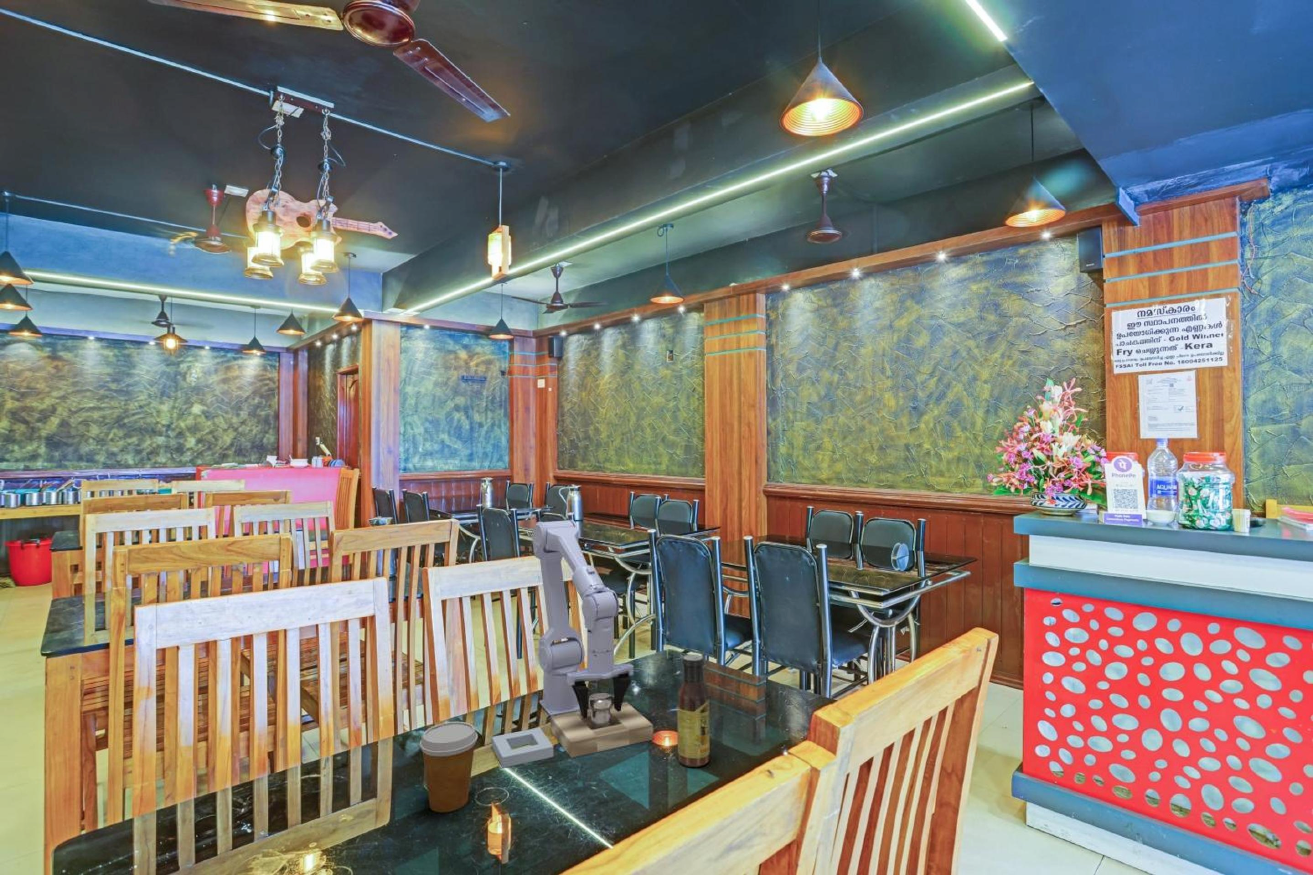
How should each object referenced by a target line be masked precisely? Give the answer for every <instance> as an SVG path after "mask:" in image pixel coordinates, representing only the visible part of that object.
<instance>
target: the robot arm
mask: <svg viewBox="0 0 1313 875" xmlns="http://www.w3.org/2000/svg"><path fill="white" fill-rule="evenodd" d="M579 538H580V531H579V528H578V525H577V523H576V522H575V521H574V520H573V519H568V520H556V521H553V520H552V521H537V522H536V523H535V525H534V526H533V529H532V534H531V539H532V547H533V553H534V558H536V559H538V560H539V562H540V563H539V565H540V571H541V579H542V588H543V594H544V601H545V604H544V605H545V611H546V618H547V619H546V620H547V626H548V629H547V630H546V631H545V633H543V634H542V636H541V637H540V638H539V639H538V654H537V658H538V664H539V667H540V668H541V670H543V676H542V677H543V678H542V679H543V680H542V685H543V689H542V690H543V691H542V692H543V697H542V698H543V699H540V700H539V704H540V705H541V706H542V708H543V709H544V710H545V711H546V713H547V715H549V716H550V717H552V716H557V715H562V714H567V713H573V712H578V711H580V712H581V716H582V717H583V718H587V710H588V699H589V690H590V688H589V687H588V686H587V684H586V683H587V682H591V681H598V680H605V679H606V680H607V679H610V678H612V683H613V684H612V685H613V705H614V709H615V710H617V711H618V712H619V711H621V707H622V703H624V698H625V695H626V693H627V690H628V688H629V686H630V684H631V683H632V678H631V677H630V676H633V675H634V665H633V664H632V663H620V664H619V663H617V664H615V618H616V617H617V616H618V614H619V612H620V603H619V598H618V595H617V593H616V592H615V591H614V590H612V589H610V588H609V587H606V586H605V584H604V582H603V580H602V579H601V576H600V575H599V573H598V572H597V569H596V568H595V567H594V566H593V565H588V562H587V561H586V558H585V556H584V554H583V551H582V548H581V546H580V544H579ZM562 559H564V561H565V562H566V563H567V565H568V566H569V567H570V570H571V571H572V572H573V574H572V577H571V580H572V581H571V582H572V583H573V585H574V587H575V589H576V591H577V593H578V595H579V597H580V599H581V601H582V603H581V612H582V615H583V616H582V617H583V619H584V620H583V621H584V627H585V629H586V631H587V632H586V635H587V636H586V639H587V640H586V642H587V644H586V645H587V646H586V647H587V648H586V651H585V646H584V644H583V641H582V638H581V637H582V636H581V633H580V631H578V630H576V629H575V628H574V627H572V626H570V620H569V612H568V604H567V595H566V589H565V582H564V574H563V568H562ZM563 639H566V640H563ZM561 640H562V641H561ZM554 641H556V642H554ZM586 652H587V655H586ZM585 656H586V657H585ZM585 658H586V659H587V660H586V662H587V663H586V664H587V665H586V666H587V667H586V668H582V669H581V668H580V666H581V665H582V664H583V663H584V660H585Z"/></svg>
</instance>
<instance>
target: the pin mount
mask: <svg viewBox="0 0 1313 875" xmlns="http://www.w3.org/2000/svg"><path fill="white" fill-rule="evenodd" d="M527 745H529V746H527ZM521 746H522V747H521ZM517 747H520V748H517ZM491 748H492V750H493V751H494V754H495V756H496V758H497V759H498V762H499V763H500V766H501V768H502V769H505V768H508V767H514V766H519V765H522V764H528V763H531V762H536V761H540V760H545V759H551V758H554V745H553V743H552V742H550V740H549V738H548V737H547V736H546V734H545V733H544V731H543V730H542V729H541V727H535V728H531V729H530V728H529V729H525V730H520V731H516V732H511V733H506V734H500V735H494V736H492V737H491ZM512 748H515V749H512Z"/></svg>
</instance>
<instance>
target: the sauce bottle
mask: <svg viewBox="0 0 1313 875" xmlns="http://www.w3.org/2000/svg"><path fill="white" fill-rule="evenodd" d="M682 665H683V676H682V678H683V682H682V683H681V685H680V686H679V688H678V690H677V706H676V708H677V754H678V755H677V757H678V761H679V763H681V764H682V765H683V766H686V767H693V768H697V767H701V766H705V765H707V763H708V762H709V761H710V752H711V750H710V743H711V742H710V739H711V738H710V696H709V694H708V691H707V688H706V685H705V683H704V677H703V666H704V657H703V656H701V655H699V654H687V655H684V656H683V657H682Z"/></svg>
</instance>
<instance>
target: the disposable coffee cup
mask: <svg viewBox="0 0 1313 875" xmlns="http://www.w3.org/2000/svg"><path fill="white" fill-rule="evenodd" d="M478 737H479V736H478V733H477V732H476V727H475V726H474V725H473V724H471V723H469V722H465V721H448V722H443V723H439V724H436V725H433V726H430V728H427V729H426V730H425V731H424V732H423V735H422V736H421V739H420V742H419V747H420V749H421V751H422V757H423V763H424V769H425V771H424V772H425V779H426V785H427V786H426V787H427V795H428V796H427V797H428V804H429V808H430V810H432V811H434V812H436V813H449V812H453V811H457V810H459V809H461V808H463V807H464V806H465V805H467V803H468V801H469V793H470V787H471V786H470V785H471V777H472V768H473V761H474V754H475V744H476V743H477V740H478Z"/></svg>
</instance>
